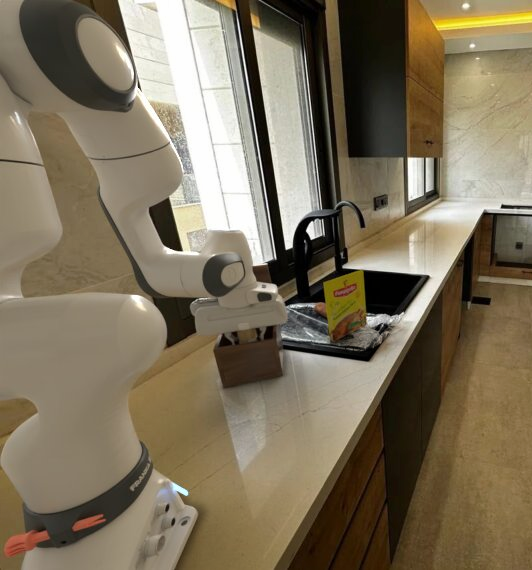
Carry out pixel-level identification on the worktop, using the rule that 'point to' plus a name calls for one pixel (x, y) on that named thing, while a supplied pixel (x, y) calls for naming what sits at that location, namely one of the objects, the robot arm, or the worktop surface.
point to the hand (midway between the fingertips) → (249, 343)
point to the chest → (249, 357)
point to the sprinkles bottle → (246, 333)
